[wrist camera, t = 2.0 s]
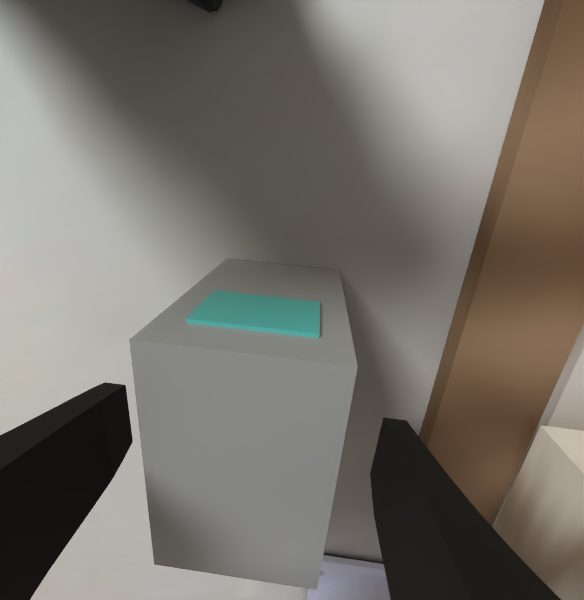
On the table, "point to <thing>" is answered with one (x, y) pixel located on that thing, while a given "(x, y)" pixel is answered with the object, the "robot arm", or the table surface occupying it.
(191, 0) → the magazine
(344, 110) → the table surface
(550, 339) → the board
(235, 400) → the block
